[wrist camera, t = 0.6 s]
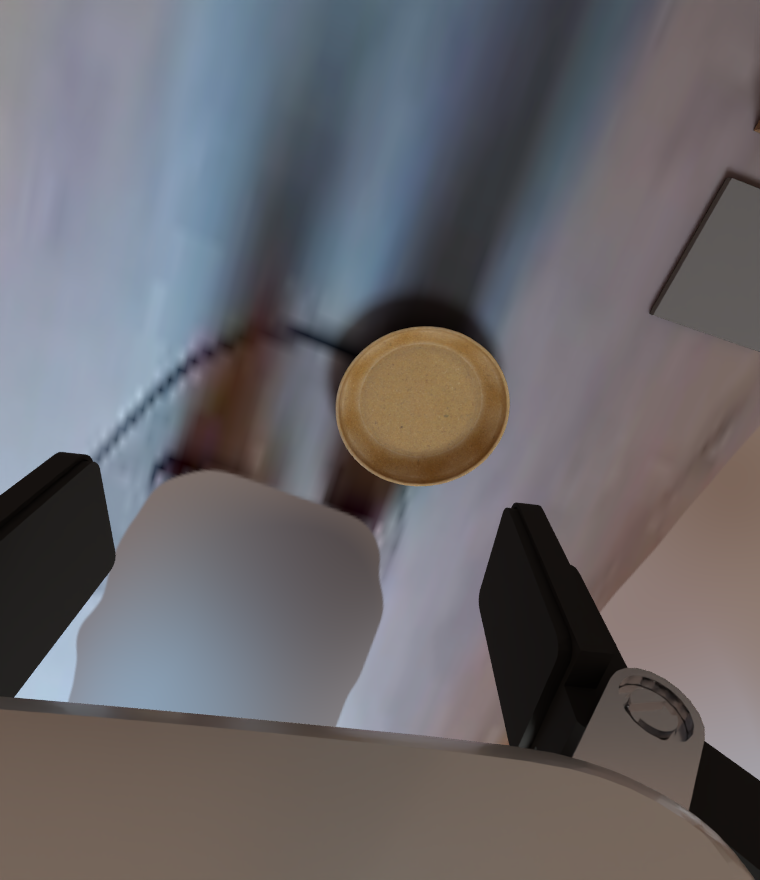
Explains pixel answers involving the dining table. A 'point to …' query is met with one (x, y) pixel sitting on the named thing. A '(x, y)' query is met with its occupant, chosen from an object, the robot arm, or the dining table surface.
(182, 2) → the dining table surface
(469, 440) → the plant saucer
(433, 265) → the dining table surface
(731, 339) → the rubber pad
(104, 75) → the dining table surface
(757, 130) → the eye block
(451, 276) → the dining table surface
